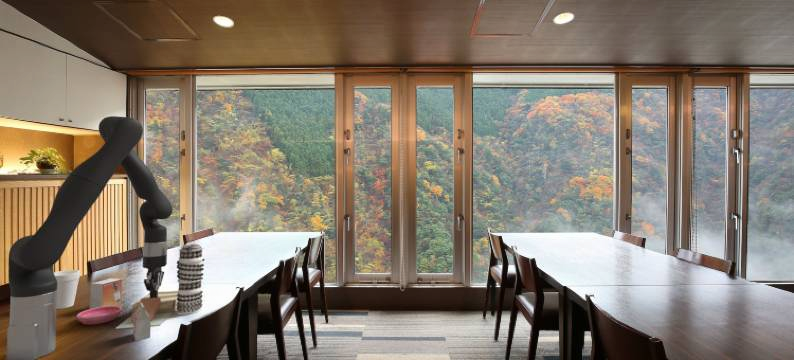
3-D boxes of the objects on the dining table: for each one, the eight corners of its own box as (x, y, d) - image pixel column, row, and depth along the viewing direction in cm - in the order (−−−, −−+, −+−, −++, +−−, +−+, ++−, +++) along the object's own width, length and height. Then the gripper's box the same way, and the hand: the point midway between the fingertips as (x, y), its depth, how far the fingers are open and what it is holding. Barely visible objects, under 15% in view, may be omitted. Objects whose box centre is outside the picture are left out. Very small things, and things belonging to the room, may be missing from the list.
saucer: (66, 325, 121) (66, 315, 121) (102, 312, 133) (102, 304, 133) (97, 328, 119) (97, 318, 119) (130, 315, 131) (130, 306, 131)
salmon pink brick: (151, 320, 124) (150, 315, 124) (132, 322, 123) (130, 317, 122) (161, 302, 132) (160, 297, 131) (142, 303, 131) (141, 298, 130)
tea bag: (146, 331, 117) (147, 300, 117) (150, 337, 112) (151, 305, 112) (132, 334, 114) (133, 303, 114) (135, 341, 109) (136, 308, 109)
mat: (160, 325, 121) (160, 324, 121) (115, 329, 118) (115, 328, 118) (172, 313, 133) (172, 312, 133) (132, 316, 130) (132, 315, 130)
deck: (172, 313, 133) (172, 302, 133) (132, 316, 130) (132, 305, 130) (185, 300, 148) (185, 290, 148) (150, 302, 145) (150, 292, 145)
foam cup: (41, 307, 137) (42, 273, 137) (72, 300, 145) (73, 269, 145) (52, 312, 133) (53, 277, 133) (83, 304, 141) (84, 271, 141)
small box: (101, 312, 133) (102, 284, 133) (89, 311, 134) (90, 283, 134) (121, 305, 141) (122, 278, 141) (110, 304, 142) (111, 277, 142)
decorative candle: (179, 307, 139) (180, 243, 139) (205, 305, 142) (207, 243, 142) (172, 316, 130) (173, 247, 131) (200, 313, 133) (201, 246, 133)
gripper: (159, 256, 127) (158, 305, 127) (172, 250, 140) (171, 294, 140) (135, 257, 125) (134, 307, 125) (150, 251, 138) (149, 295, 138)
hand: (153, 300), depth 132 cm, fingers closed
